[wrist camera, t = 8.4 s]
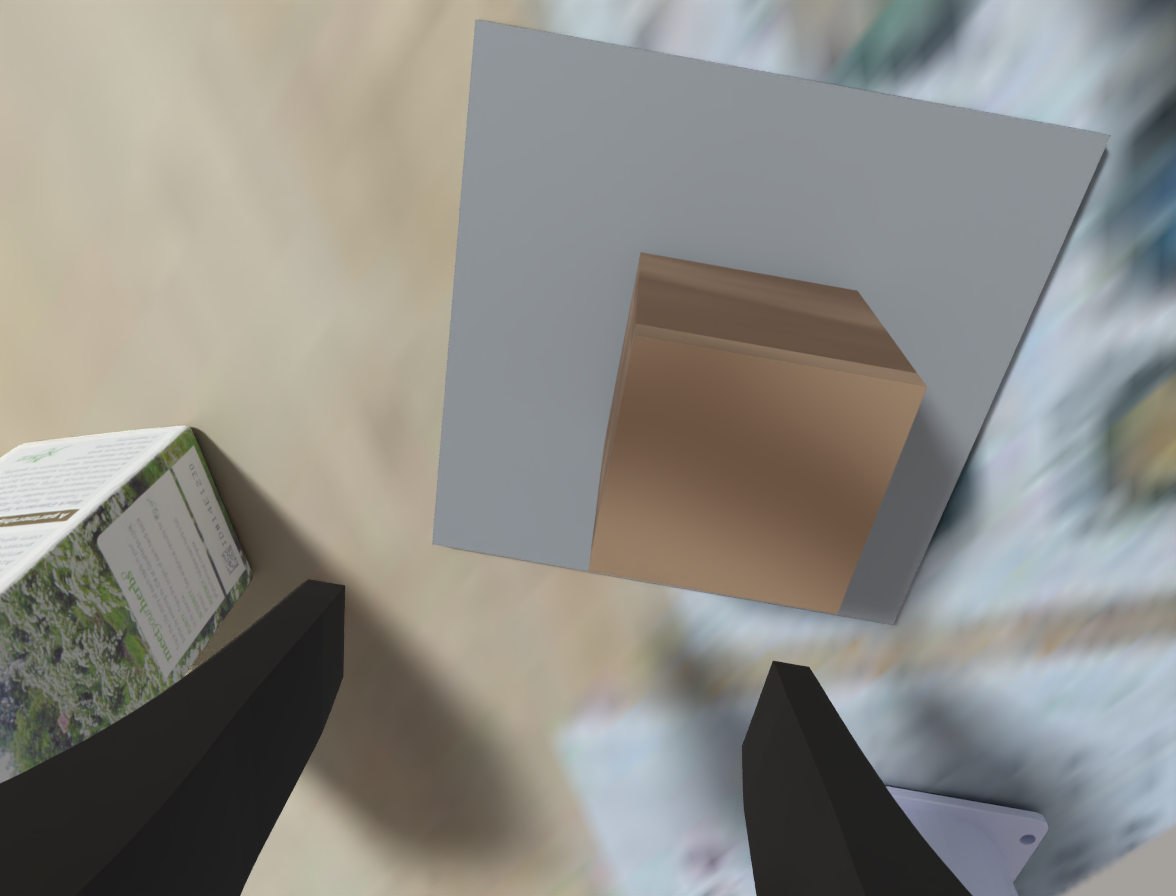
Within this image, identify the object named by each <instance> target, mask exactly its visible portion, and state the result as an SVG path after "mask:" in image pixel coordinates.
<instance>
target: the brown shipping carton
mask: <svg viewBox="0 0 1176 896" xmlns="http://www.w3.org/2000/svg"><path fill="white" fill-rule="evenodd" d="M926 388H927V386H926V385H925V383H924V382H923V380H922V379H921V378H920V376H919V375H918V374H917V372H916V371H915V369H914V368H913V367H912V365H911V364H910V362H909V361H908V360H907V358H906V357H905V356H904V354H903V353H902V351H901V350H900V349H899V347H898V346H897V344H896V343H895V342H894V340H893V339H892V338H891V336H890V335H889V333H888V332H887V331H886V329H885V328H884V327H883V325H882V324H881V322H880V321H879V320H878V318H877V317H876V315H875V314H874V313H873V311H872V310H871V309H870V307H869V306H868V304H867V303H866V302H865V300H864V299H863V297H862V296H861V295H860V293H859V292H858V291H857V290H851V289H846V288H840V287H834V286H829V285H823V284H817V283H812V282H806V281H801V280H795V279H789V278H784V277H778V276H772V275H767V274H761V273H755V272H750V271H744V270H738V269H733V268H727V267H722V266H716V265H710V264H705V263H699V262H693V261H688V260H682V259H676V258H671V257H665V256H660V255H654V254H648V253H643V252H641V253H640V258H639V263H638V268H637V274H636V279H635V284H634V289H633V295H632V300H631V305H630V310H629V316H628V321H627V326H626V331H625V337H624V342H623V347H622V352H621V358H620V363H619V368H618V373H617V379H616V384H615V389H614V394H613V400H612V405H611V410H610V415H609V421H608V426H607V431H606V436H605V442H604V449H603V457H602V465H601V473H600V481H599V489H598V497H597V506H596V514H595V522H594V530H593V538H592V546H591V554H590V562H589V571H591V572H596V573H602V574H608V575H614V576H619V577H625V578H631V579H637V580H642V581H648V582H654V583H660V584H665V585H671V586H677V587H683V588H688V589H694V590H700V591H706V592H711V593H717V594H723V595H729V596H734V597H740V598H746V599H752V600H757V601H763V602H769V603H775V604H780V605H786V606H792V607H798V608H803V609H809V610H815V611H821V612H826V613H832V614H838V611H839V609H840V606H841V604H842V601H843V599H844V596H845V594H846V591H847V588H848V586H849V583H850V581H851V578H852V576H853V573H854V571H855V568H856V566H857V563H858V561H859V558H860V556H861V553H862V550H863V548H864V545H865V543H866V540H867V538H868V535H869V533H870V530H871V528H872V525H873V523H874V520H875V518H876V515H877V512H878V510H879V507H880V505H881V502H882V500H883V497H884V495H885V492H886V490H887V487H888V485H889V482H890V480H891V477H892V474H893V472H894V469H895V467H896V464H897V462H898V459H899V457H900V454H901V452H902V449H903V447H904V444H905V442H906V439H907V436H908V434H909V431H910V429H911V426H912V424H913V421H914V419H915V416H916V414H917V411H918V409H919V406H920V404H921V401H922V398H923V396H924V393H925V391H926Z"/></svg>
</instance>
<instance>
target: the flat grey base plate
mask: <svg viewBox="0 0 1176 896" xmlns="http://www.w3.org/2000/svg"><path fill="white" fill-rule="evenodd" d="M1109 138H1110V136H1109V135H1106V134H1102V133H1098V132H1092V131H1087V130H1081V129H1076V128H1070V127H1065V126H1059V125H1054V124H1048V123H1043V122H1037V121H1032V120H1027V119H1021V118H1016V117H1010V116H1005V115H999V114H994V113H988V112H983V111H977V110H972V109H966V108H961V107H955V106H950V105H944V104H939V103H933V102H928V101H922V100H917V99H911V98H906V97H901V96H895V95H890V94H884V93H879V92H873V91H868V90H862V89H857V88H851V87H846V86H840V85H835V84H829V83H824V82H818V81H813V80H807V79H802V78H796V77H791V76H785V75H780V74H774V73H769V72H764V71H758V70H753V69H747V68H742V67H736V66H731V65H725V64H720V63H714V62H709V61H703V60H698V59H692V58H687V57H681V56H676V55H670V54H665V53H659V52H654V51H648V50H643V49H638V48H632V47H627V46H621V45H616V44H610V43H605V42H599V41H594V40H588V39H583V38H577V37H572V36H566V35H561V34H555V33H550V32H544V31H539V30H533V29H528V28H522V27H517V26H512V25H506V24H501V23H495V22H490V21H484V20H475V31H474V43H473V55H472V67H471V80H470V92H469V104H468V116H467V128H466V140H465V153H464V165H463V177H462V189H461V201H460V214H459V226H458V238H457V250H456V262H455V274H454V287H453V299H452V311H451V323H450V335H449V347H448V360H447V372H446V384H445V396H444V408H443V420H442V433H441V445H440V457H439V469H438V481H437V493H436V506H435V518H434V530H433V542H432V544H434V545H440V546H445V547H451V548H457V549H463V550H468V551H474V552H480V553H485V554H491V555H497V556H502V557H508V558H514V559H519V560H525V561H531V562H536V563H542V564H548V565H553V566H559V567H565V568H570V569H576V570H582V571H588V572H591V571H589V562H590V554H591V546H592V538H593V530H594V522H595V514H596V506H597V497H598V489H599V481H600V473H601V465H602V457H603V449H604V442H605V436H606V431H607V426H608V421H609V415H610V410H611V405H612V400H613V394H614V389H615V384H616V379H617V373H618V368H619V363H620V358H621V352H622V347H623V342H624V337H625V331H626V326H627V321H628V316H629V310H630V305H631V300H632V295H633V289H634V284H635V279H636V274H637V268H638V263H639V258H640V253H641V252H643V253H648V254H654V255H660V256H665V257H671V258H676V259H682V260H688V261H693V262H699V263H705V264H710V265H716V266H722V267H727V268H733V269H738V270H744V271H750V272H755V273H761V274H767V275H772V276H778V277H784V278H789V279H795V280H801V281H806V282H812V283H817V284H823V285H829V286H834V287H840V288H846V289H851V290H857V291H858V292H859V293H860V295H861V296H862V297H863V299H864V300H865V302H866V303H867V304H868V306H869V307H870V309H871V310H872V311H873V313H874V314H875V315H876V317H877V318H878V320H879V321H880V322H881V324H882V325H883V327H884V328H885V329H886V331H887V332H888V333H889V335H890V336H891V338H892V339H893V340H894V342H895V343H896V344H897V346H898V347H899V349H900V350H901V351H902V353H903V354H904V356H905V357H906V358H907V360H908V361H909V362H910V364H911V365H912V367H913V368H914V369H915V371H916V372H917V374H918V375H919V376H920V378H921V379H922V380H923V382H924V383H925V385H926V386H927V388H926V391H925V393H924V396H923V398H922V401H921V404H920V406H919V409H918V411H917V414H916V416H915V419H914V421H913V424H912V426H911V429H910V431H909V434H908V436H907V439H906V442H905V444H904V447H903V449H902V452H901V454H900V457H899V459H898V462H897V464H896V467H895V469H894V472H893V474H892V477H891V480H890V482H889V485H888V487H887V490H886V492H885V495H884V497H883V500H882V502H881V505H880V507H879V510H878V512H877V515H876V518H875V520H874V523H873V525H872V528H871V530H870V533H869V535H868V538H867V540H866V543H865V545H864V548H863V550H862V553H861V556H860V558H859V561H858V563H857V566H856V568H855V571H854V573H853V576H852V578H851V581H850V583H849V586H848V588H847V591H846V594H845V596H844V599H843V601H842V604H841V606H840V609H839V611H838V614H832V613H826V612H821V611H815V610H809V609H803V608H798V607H792V606H786V605H781V606H786V607H792V608H798V609H803V610H809V611H815V612H820V613H826V614H832V615H838V616H843V617H849V618H855V619H860V620H866V621H872V622H877V623H883V624H889V625H893V624H894V621H895V619H896V617H897V615H898V612H899V610H900V608H901V606H902V603H903V601H904V599H905V597H906V594H907V592H908V590H909V588H910V586H911V583H912V581H913V579H914V577H915V574H916V572H917V570H918V568H919V565H920V563H921V561H922V559H923V556H924V554H925V552H926V550H927V547H928V545H929V543H930V541H931V538H932V536H933V534H934V532H935V529H936V527H937V525H938V523H939V520H940V518H941V516H942V514H943V511H944V509H945V507H946V505H947V502H948V500H949V498H950V496H951V493H952V491H953V489H954V487H955V484H956V482H957V480H958V478H959V475H960V473H961V471H962V469H963V466H964V464H965V462H966V460H967V457H968V455H969V453H970V451H971V448H972V446H973V444H974V442H975V439H976V437H977V435H978V433H979V430H980V428H981V426H982V424H983V421H984V419H985V417H986V415H987V412H988V410H989V408H990V406H991V403H992V401H993V399H994V397H995V394H996V392H997V390H998V388H999V385H1000V383H1001V381H1002V379H1003V376H1004V374H1005V372H1006V370H1007V367H1008V365H1009V363H1010V361H1011V358H1012V356H1013V354H1014V352H1015V349H1016V347H1017V345H1018V343H1019V340H1020V338H1021V336H1022V334H1023V331H1024V329H1025V327H1026V325H1027V322H1028V320H1029V318H1030V316H1031V314H1032V311H1033V309H1034V307H1035V305H1036V302H1037V300H1038V298H1039V296H1040V293H1041V291H1042V289H1043V287H1044V284H1045V282H1046V280H1047V278H1048V275H1049V273H1050V271H1051V269H1052V266H1053V264H1054V262H1055V260H1056V257H1057V255H1058V253H1059V251H1060V248H1061V246H1062V244H1063V242H1064V239H1065V237H1066V235H1067V233H1068V230H1069V228H1070V226H1071V224H1072V221H1073V219H1074V217H1075V215H1076V212H1077V210H1078V208H1079V206H1080V203H1081V201H1082V199H1083V197H1084V194H1085V192H1086V190H1087V188H1088V185H1089V183H1090V181H1091V179H1092V176H1093V174H1094V172H1095V170H1096V167H1097V165H1098V163H1099V161H1100V158H1101V156H1102V154H1103V152H1104V149H1105V147H1106V145H1107V143H1108V140H1109ZM593 573H596V572H593ZM599 574H602V573H599ZM605 575H608V574H605ZM610 576H614V575H610ZM616 577H619V576H616ZM622 578H625V577H622ZM627 579H631V578H627ZM633 580H637V579H633ZM639 581H642V580H639ZM644 582H648V581H644ZM650 583H654V582H650ZM656 584H660V583H656ZM661 585H665V584H661ZM667 586H671V585H667ZM673 587H677V586H673ZM678 588H683V587H678ZM684 589H688V588H684ZM690 590H694V589H690ZM695 591H700V590H695ZM701 592H706V591H701ZM707 593H711V592H707ZM713 594H717V593H713ZM718 595H723V594H718ZM724 596H729V595H724ZM730 597H734V596H730ZM735 598H740V597H735ZM741 599H746V598H741ZM747 600H752V599H747ZM752 601H757V600H752ZM758 602H763V601H758ZM764 603H769V602H764ZM769 604H775V603H769ZM775 605H780V604H775Z"/></svg>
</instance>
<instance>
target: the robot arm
mask: <svg viewBox="0 0 1176 896" xmlns="http://www.w3.org/2000/svg"><path fill="white" fill-rule="evenodd" d="M344 609H345V586H344V585H338V584H332V583H327V582H321V581H315V580H307V581H305V582H304V583H302V584H301V585H300V586H299V587H297V588H296V589H295V590H294V591H293V592H291V593H290V594H289V595H288V596H287V597H286V598H284V599H283V600H282V601H281V602H280V603H278V604H277V605H276V606H275V607H274V608H272V609H271V610H270V611H269V612H268V613H266V614H265V615H264V616H263V617H262V618H260V619H259V620H258V621H257V622H255V623H254V624H253V625H252V626H251V627H249V628H248V629H247V630H246V631H244V632H243V633H242V634H241V635H239V636H238V637H237V638H235V639H234V640H233V641H232V642H230V643H229V644H228V645H226V646H225V647H224V648H223V649H221V650H220V651H219V652H217V653H216V654H215V655H214V656H212V657H211V658H210V659H208V660H207V661H206V662H204V663H203V664H202V665H200V666H199V667H197V668H196V669H194V670H193V671H192V672H190V673H189V674H187V675H186V676H185V677H183V678H182V679H180V680H179V681H177V682H176V683H175V684H173V685H172V686H170V687H169V688H168V689H166V690H165V691H163V692H162V693H160V694H159V695H157V696H156V697H154V698H153V699H151V700H150V701H148V702H147V703H145V704H144V705H142V706H141V707H139V708H138V709H136V710H134V711H133V712H131V713H130V714H128V715H126V716H125V717H123V718H121V719H120V720H118V721H116V722H115V723H113V724H111V725H110V726H108V727H107V728H105V729H103V730H102V731H100V732H98V733H96V734H95V735H93V736H91V737H89V738H88V739H86V740H84V741H82V742H80V743H78V744H77V745H75V746H73V747H71V748H69V749H67V750H65V751H63V752H61V753H60V754H58V755H56V756H54V757H52V758H50V759H48V760H46V761H44V762H42V763H40V764H38V765H36V766H35V767H33V768H31V769H29V770H27V771H25V772H23V773H21V774H19V775H17V776H15V777H13V778H11V779H8V780H6V781H4V782H2V783H0V896H240V895H241V893H242V890H243V888H244V885H245V883H246V881H247V879H248V877H249V875H250V873H251V870H252V868H253V866H254V864H255V862H256V860H257V858H258V856H259V854H260V852H261V850H262V848H263V846H264V844H265V842H266V840H267V838H268V837H269V835H270V833H271V831H272V829H273V827H274V825H275V823H276V821H277V819H278V817H279V815H280V814H281V812H282V810H283V808H284V806H285V804H286V802H287V800H288V798H289V796H290V794H291V792H292V791H293V789H294V787H295V785H296V783H297V781H298V779H299V777H300V775H301V773H302V771H303V769H304V767H305V765H306V763H307V762H308V760H309V758H310V756H311V754H312V752H313V750H314V748H315V746H316V744H317V742H318V740H319V738H320V736H321V734H322V732H323V729H324V727H325V724H326V721H327V719H328V716H329V714H330V711H331V709H332V706H333V703H334V700H335V698H336V695H337V692H338V689H339V687H340V684H341V681H342V679H343V662H344ZM742 768H743V801H744V812H745V820H746V827H747V834H748V841H749V848H750V855H751V861H752V868H753V875H754V881H755V888H756V895H757V896H1018V893H1017V891H1016V889H1015V886H1014V884H1013V882H1014V881H1015V879H1016V878H1017V876H1018V875H1019V873H1020V872H1021V870H1022V869H1023V867H1024V866H1025V864H1026V863H1027V861H1028V860H1029V858H1030V857H1031V855H1032V854H1033V852H1034V851H1035V849H1036V848H1037V846H1038V845H1039V843H1040V842H1041V840H1042V839H1043V837H1044V836H1045V834H1046V833H1047V831H1048V828H1049V827H1048V824H1047V822H1046V820H1045V818H1044V816H1043V815H1041V814H1040V813H1037V812H1032V811H1027V810H1021V809H1015V808H1009V807H1004V806H998V805H992V804H986V803H981V802H975V801H969V800H963V799H958V798H952V797H946V796H940V795H935V794H929V793H923V792H917V791H912V790H906V789H900V788H894V787H889V786H885V785H884V783H883V782H882V780H881V779H880V777H879V776H878V775H877V773H876V772H875V770H874V769H873V767H872V766H871V764H870V763H869V761H868V760H867V758H866V757H865V755H864V754H863V752H862V751H861V749H860V748H859V746H858V744H857V743H856V741H855V740H854V738H853V737H852V735H851V734H850V732H849V730H848V729H847V727H846V726H845V724H844V722H843V721H842V719H841V718H840V716H839V714H838V713H837V711H836V709H835V708H834V706H833V705H832V703H831V701H830V700H829V698H828V696H827V695H826V693H825V691H824V690H823V688H822V687H821V685H820V683H819V682H818V680H817V678H816V677H815V675H814V674H813V672H812V671H811V669H810V668H809V667H806V666H800V665H794V664H789V663H783V662H777V661H773V662H772V665H771V668H770V670H769V673H768V676H767V679H766V681H765V684H764V687H763V690H762V693H761V695H760V698H759V701H758V704H757V706H756V709H755V712H754V715H753V717H752V720H751V723H750V726H749V728H748V731H747V734H746V737H745V740H744V742H743V745H742Z"/></svg>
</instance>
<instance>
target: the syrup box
mask: <svg viewBox="0 0 1176 896" xmlns="http://www.w3.org/2000/svg"><path fill="white" fill-rule="evenodd" d="M252 578H253V573H252V571H251V568H250V566H249V564H248V561H247V559H246V556H245V553H244V551H243V549H242V547H241V545H240V543H239V541H238V538H237V535H236V533H235V531H234V528H233V526H232V524H231V521H230V519H229V516H228V514H227V512H226V509H225V507H224V505H223V502H222V500H221V497H220V495H219V493H218V491H217V488H216V486H215V484H214V481H213V479H212V476H211V474H210V471H209V469H208V466H207V464H206V462H205V459H204V457H203V455H202V452H201V449H200V446H199V445H198V443H197V440H196V438H195V436H194V434H193V432H192V429H191V428H190V427H189V426H187V425H182V426H172V427H160V428H150V429H139V430H130V431H122V432H113V433H105V434H96V435H87V436H79V437H70V438H62V439H52V440H45V441H37V442H28V443H25V444H21V445H19V446H17V447H16V448H14V449H13V450H11V451H10V452H8V453H7V454H5V455H4V456H2V457H1V458H0V783H2V782H4V781H6V780H8V779H11V778H13V777H15V776H17V775H19V774H21V773H23V772H25V771H27V770H29V769H31V768H33V767H35V766H36V765H38V764H40V763H42V762H44V761H46V760H48V759H50V758H52V757H54V756H56V755H58V754H60V753H61V752H63V751H65V750H67V749H69V748H71V747H73V746H75V745H77V744H78V743H80V742H82V741H84V740H86V739H88V738H89V737H91V736H93V735H95V734H96V733H98V732H100V731H102V730H103V729H105V728H107V727H108V726H110V725H111V724H113V723H115V722H116V721H118V720H120V719H121V718H123V717H125V716H126V715H128V714H130V713H131V712H133V711H134V710H136V709H138V708H139V707H141V706H142V705H144V704H145V703H147V702H148V701H150V700H151V699H153V698H154V697H156V696H157V695H159V694H160V693H162V692H163V691H165V690H166V689H168V688H169V687H170V686H172V685H173V684H175V683H176V682H177V681H179V680H180V679H182V678H183V677H184V676H185V674H186V673H187V671H188V670H189V668H190V667H191V666H192V664H193V663H194V661H195V660H196V658H197V657H198V656H199V654H200V653H201V651H202V650H203V649H204V647H205V646H206V645H207V643H208V641H209V640H210V638H211V637H212V636H213V634H214V633H215V631H216V630H217V628H218V627H219V625H220V624H221V622H222V621H223V619H224V618H225V616H226V615H227V614H228V613H229V611H230V610H231V608H232V607H233V606H234V605H235V603H236V601H237V600H238V599H239V598H240V596H241V595H242V593H243V591H244V590H245V588H246V587H247V586H248V584H249V583H250V581H251V580H252Z"/></svg>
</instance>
